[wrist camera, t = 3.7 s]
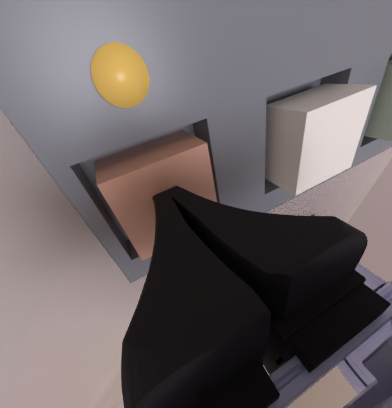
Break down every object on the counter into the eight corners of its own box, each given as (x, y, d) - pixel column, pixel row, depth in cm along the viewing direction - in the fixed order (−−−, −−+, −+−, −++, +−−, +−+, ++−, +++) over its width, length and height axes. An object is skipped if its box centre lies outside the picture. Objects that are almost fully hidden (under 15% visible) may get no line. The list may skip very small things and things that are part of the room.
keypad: (376, 134, 21) (407, 140, 19) (124, 256, 15) (131, 285, 13) (445, -55, 13) (510, -79, 11) (-31, 26, 7) (-81, 4, 5)
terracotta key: (198, 198, 14) (220, 221, 12) (132, 228, 13) (142, 260, 11) (182, 129, 11) (207, 142, 9) (94, 160, 10) (96, 185, 8)
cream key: (312, 154, 16) (350, 167, 14) (262, 177, 15) (295, 195, 12) (325, 83, 13) (376, 84, 11) (263, 105, 12) (307, 112, 9)
